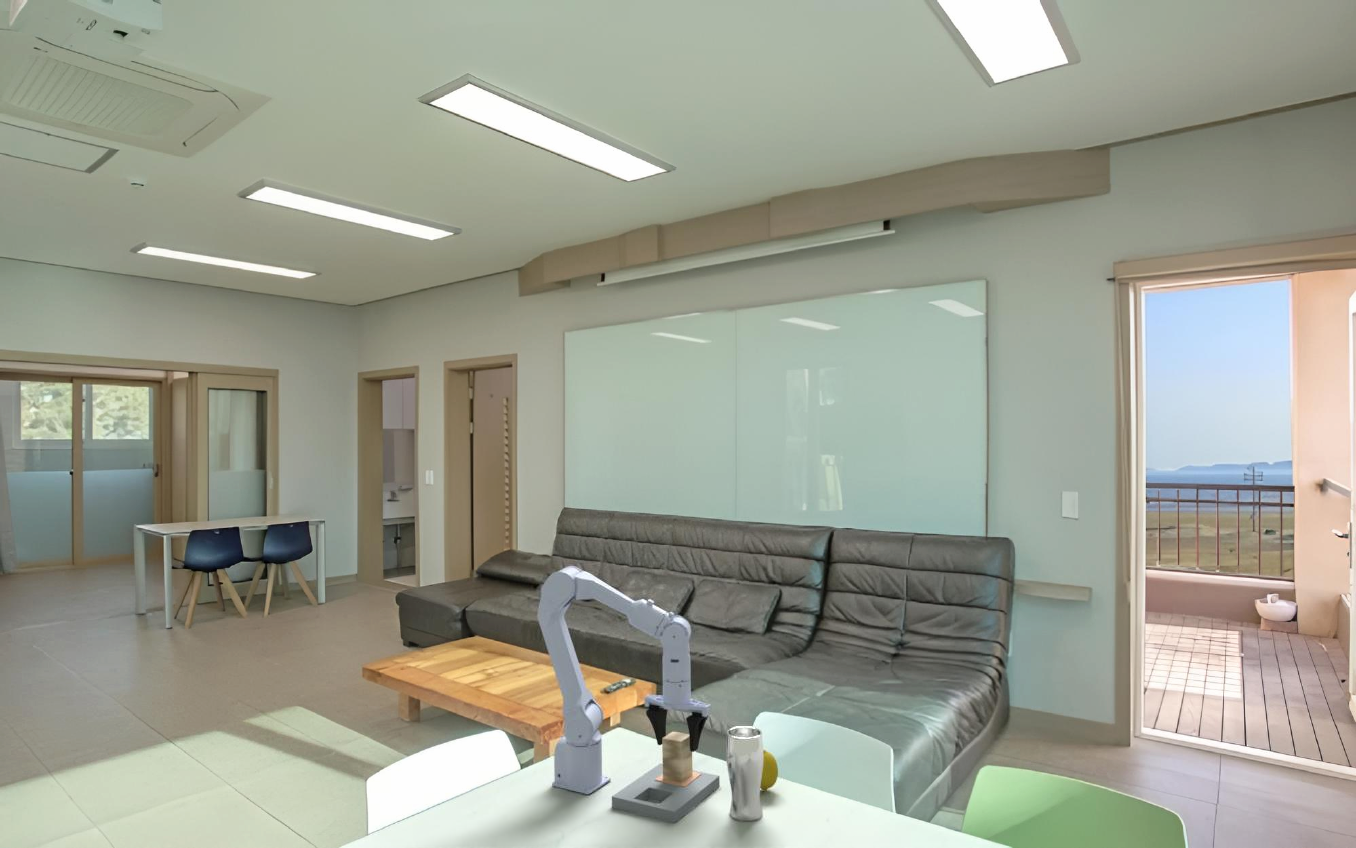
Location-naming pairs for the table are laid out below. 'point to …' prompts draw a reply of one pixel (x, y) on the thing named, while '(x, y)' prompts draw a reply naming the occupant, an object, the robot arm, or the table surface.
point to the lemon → (769, 771)
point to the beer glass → (745, 771)
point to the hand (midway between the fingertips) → (677, 746)
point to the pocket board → (665, 794)
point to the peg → (676, 757)
